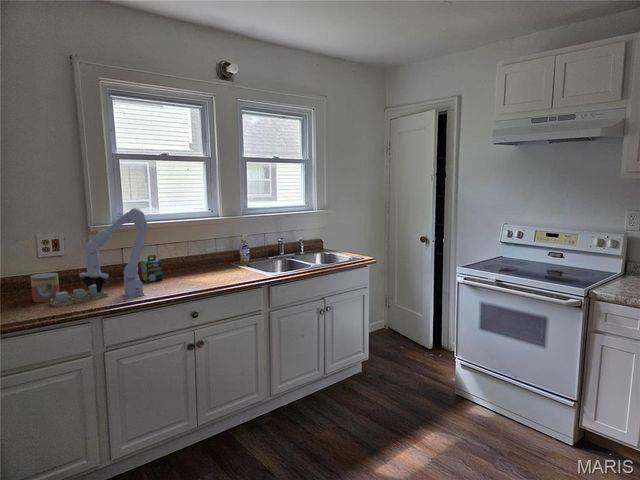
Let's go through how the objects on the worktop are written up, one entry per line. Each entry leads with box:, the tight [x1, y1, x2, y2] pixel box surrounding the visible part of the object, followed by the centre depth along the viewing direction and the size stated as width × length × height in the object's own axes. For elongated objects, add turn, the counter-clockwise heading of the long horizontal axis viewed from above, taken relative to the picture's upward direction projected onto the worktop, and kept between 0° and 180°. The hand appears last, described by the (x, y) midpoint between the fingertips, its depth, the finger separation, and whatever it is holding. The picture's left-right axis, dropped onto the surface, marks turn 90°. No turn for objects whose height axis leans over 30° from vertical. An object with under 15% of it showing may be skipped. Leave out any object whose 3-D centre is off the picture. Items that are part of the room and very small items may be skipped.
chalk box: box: [140, 254, 164, 283], centre depth 241 cm, size 9×9×15 cm
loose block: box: [87, 283, 103, 296], centre depth 205 cm, size 4×4×5 cm
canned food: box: [30, 272, 60, 303], centre depth 200 cm, size 11×11×12 cm
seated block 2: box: [72, 288, 86, 299], centre depth 199 cm, size 4×4×5 cm
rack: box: [49, 290, 109, 308], centre depth 200 cm, size 8×23×2 cm, turn 139°
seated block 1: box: [56, 290, 70, 302], centre depth 194 cm, size 4×4×5 cm
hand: (95, 291), depth 205 cm, fingers closed on loose block, 4 cm apart
